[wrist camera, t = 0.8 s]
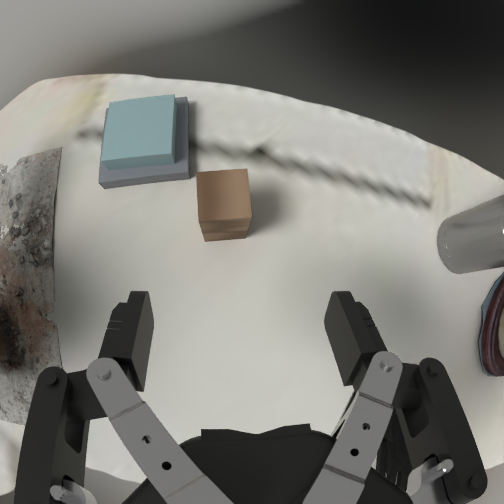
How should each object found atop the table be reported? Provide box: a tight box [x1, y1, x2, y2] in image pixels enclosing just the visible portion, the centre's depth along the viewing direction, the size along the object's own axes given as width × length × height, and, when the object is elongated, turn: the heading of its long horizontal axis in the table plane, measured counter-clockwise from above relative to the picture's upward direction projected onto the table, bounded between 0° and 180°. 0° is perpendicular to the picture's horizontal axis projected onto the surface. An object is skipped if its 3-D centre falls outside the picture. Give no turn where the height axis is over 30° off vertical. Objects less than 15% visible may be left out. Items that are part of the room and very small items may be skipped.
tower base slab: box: [99, 97, 190, 189], centre depth 39 cm, size 12×12×3 cm
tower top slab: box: [101, 94, 177, 171], centre depth 36 cm, size 9×9×3 cm
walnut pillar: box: [196, 169, 252, 242], centre depth 35 cm, size 5×5×10 cm
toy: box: [376, 408, 413, 492], centre depth 34 cm, size 8×6×30 cm
